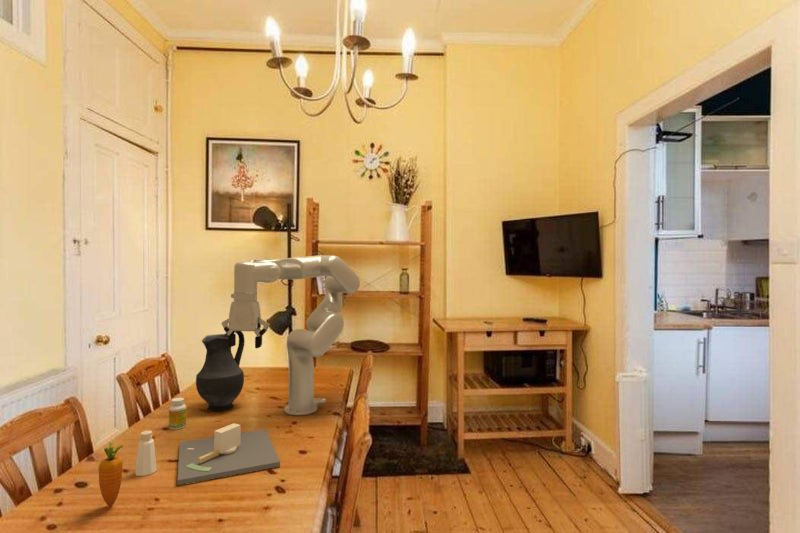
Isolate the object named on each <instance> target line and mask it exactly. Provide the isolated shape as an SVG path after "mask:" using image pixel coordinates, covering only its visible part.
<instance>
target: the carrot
mask: <svg viewBox="0 0 800 533" xmlns="http://www.w3.org/2000/svg"><path fill="white" fill-rule="evenodd" d="M108 446H109V447H108ZM108 446H105V447H104V449H103V451H104V453H105V455H106V456H107V457H106V458H104V459H102V460H100V462H99V465H98V483H99V490H100V493H101V496H102V500H103V501H104V503H105V504H106V505H107V506H108V507H110V506H111V507H112V506H113V505H114V504H115V502H116V500H117V498H118V496H119V493H120V490H121V484H122V479H123V469H124V468H123V467H124V466H123V465H124V464H123V463H124V462H123V460H124V459H123V458H122V457H120V456H116V454H117V453H118V451H119V450H120V449H121V448H123V445H122V444H120V445H118V446H117V447H116V448H115V449H114V442H109V445H108Z"/></svg>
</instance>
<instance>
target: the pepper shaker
mask: <svg viewBox="0 0 800 533" xmlns="http://www.w3.org/2000/svg"><path fill="white" fill-rule="evenodd" d="M139 434H140V440H139V441H138V444H137V445H138V446H137V454H136V463H135V470H134V473H135V476H138V477H139V476H140V477H145V476H150V475H152V474H154V473H156V472H157V471H158V469H157V467H158V466H157V459H156V458H157V457H156V450H155V441H154V438H153V431H152V430H150V429H149V430H144V431H142V432H140V433H139Z"/></svg>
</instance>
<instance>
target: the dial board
mask: <svg viewBox="0 0 800 533" xmlns="http://www.w3.org/2000/svg"><path fill="white" fill-rule="evenodd" d="M213 451H214V436H212V437H205V438H197V439H191V440H190V439H189V440H184V441H183V440H182V441H179V449H178V463H177V464H178V465H177V466H178V468H177V484H176V485H181V486H184V485H183V484H186V485H188V484H187V483H191V484H194V483H193V482H197V483H199V482H198V481H202V482H204V481H203V480H207V481H209V480H208V479H213V478H218V479H220V478H219V477H223V478H226V477H225V476H229V477H231V476H230V475H234V476H237V475H236V474H239V475H243V474H242V473H245V474H248V473H247V472H250V473H253V472H252V471H256V472H259V471H258V470H261V471H264V470H263V469H266V470H270V469H269V468H272V469H275V468H274V467H277V468H280V467H281V461H280V458H279V456H278V454H277V452H276V450H275V447H274V444H273V442H272V440H271V438H270V435H269V433H268V431H267V429H259V430H251V431H246V432H241V444H240V445H239V446H237V447H236V451H235V452H233V453H231V454H220V453H219V455H218V456H216V457H213V458H211V459H209V460H207V461H205V462H203V463H199V462H198V458H199V457H201V456H204V455H206V454H208V453H210V452H213ZM213 480H214V479H213Z"/></svg>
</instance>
